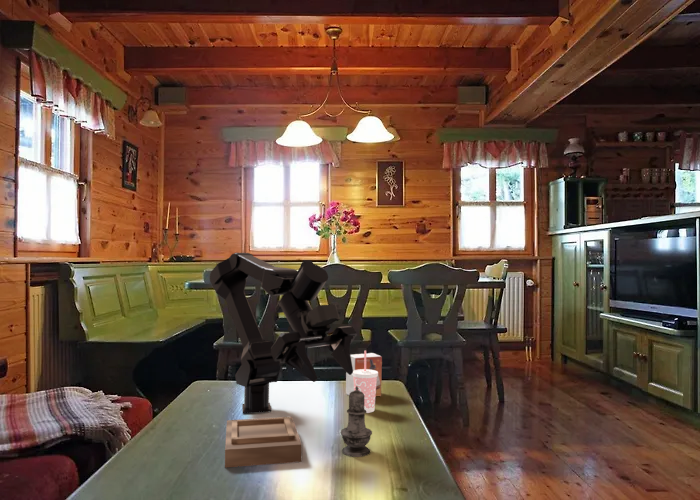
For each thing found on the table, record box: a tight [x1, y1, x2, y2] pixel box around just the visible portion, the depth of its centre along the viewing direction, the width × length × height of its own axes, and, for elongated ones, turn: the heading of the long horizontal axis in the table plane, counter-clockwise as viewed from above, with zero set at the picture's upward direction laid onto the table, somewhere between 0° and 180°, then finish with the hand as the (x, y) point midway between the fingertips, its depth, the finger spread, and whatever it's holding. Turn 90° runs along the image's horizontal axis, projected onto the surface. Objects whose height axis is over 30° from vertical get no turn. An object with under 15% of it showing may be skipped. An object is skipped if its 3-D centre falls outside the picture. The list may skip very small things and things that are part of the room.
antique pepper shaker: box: [340, 386, 373, 458], centre depth 93 cm, size 6×6×12 cm
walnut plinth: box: [224, 416, 303, 469], centre depth 95 cm, size 16×13×4 cm
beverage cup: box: [352, 350, 378, 414], centre depth 120 cm, size 6×6×14 cm
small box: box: [345, 352, 383, 398], centre depth 133 cm, size 8×6×10 cm
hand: (334, 376), depth 98 cm, fingers open, 9 cm apart
